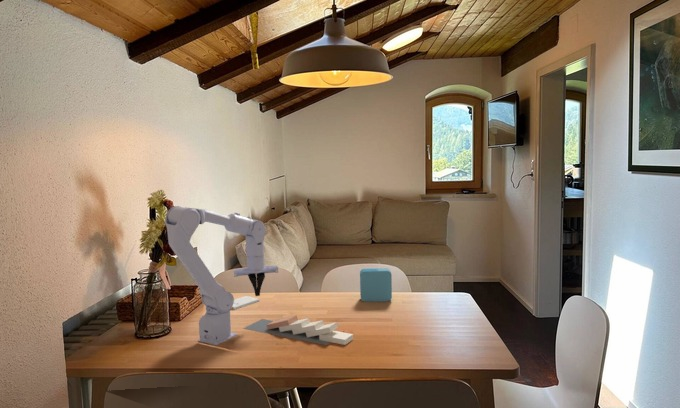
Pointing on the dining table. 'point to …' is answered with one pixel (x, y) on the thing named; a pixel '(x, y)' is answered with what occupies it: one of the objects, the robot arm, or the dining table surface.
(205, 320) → the robot arm
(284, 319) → the domino
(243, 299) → the external hard drive
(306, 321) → the domino
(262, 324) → the mat
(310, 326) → the domino
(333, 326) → the domino
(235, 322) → the dining table surface
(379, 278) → the blue rounded slab
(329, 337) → the domino
